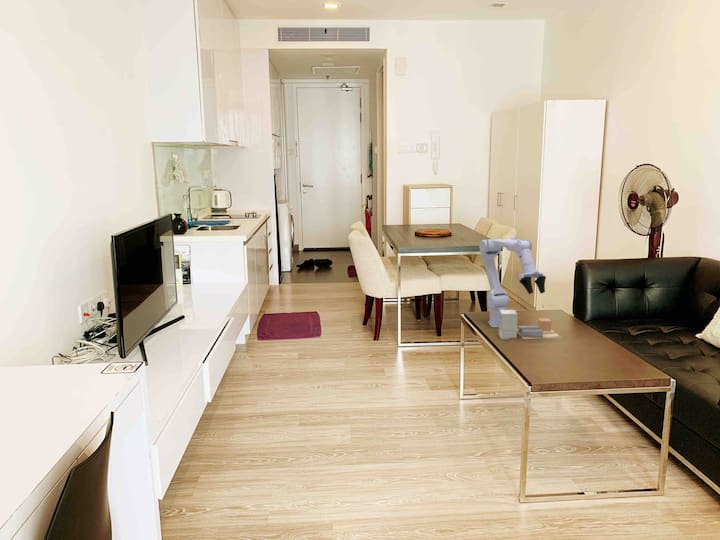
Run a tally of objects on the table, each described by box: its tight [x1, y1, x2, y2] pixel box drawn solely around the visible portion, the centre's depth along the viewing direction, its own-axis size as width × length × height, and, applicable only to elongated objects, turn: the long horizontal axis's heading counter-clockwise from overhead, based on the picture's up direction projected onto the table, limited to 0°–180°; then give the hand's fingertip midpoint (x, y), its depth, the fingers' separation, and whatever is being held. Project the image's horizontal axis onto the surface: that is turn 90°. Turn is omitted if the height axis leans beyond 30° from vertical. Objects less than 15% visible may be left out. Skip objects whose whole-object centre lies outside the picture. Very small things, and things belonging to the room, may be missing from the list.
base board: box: [517, 325, 563, 340], centre depth 265 cm, size 18×18×4 cm
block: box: [537, 317, 552, 331], centre depth 269 cm, size 5×5×5 cm
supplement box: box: [498, 309, 519, 340], centre depth 260 cm, size 7×7×13 cm
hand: (536, 293), depth 250 cm, fingers open, 7 cm apart
